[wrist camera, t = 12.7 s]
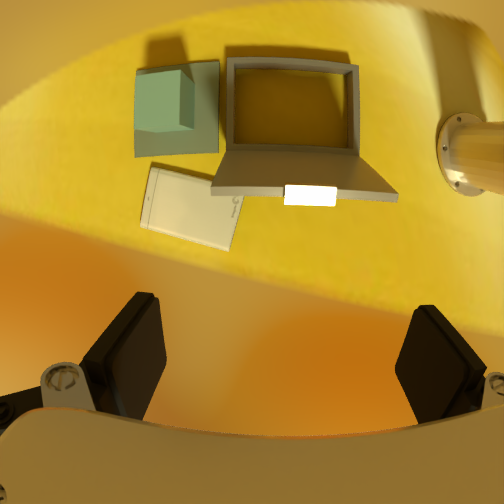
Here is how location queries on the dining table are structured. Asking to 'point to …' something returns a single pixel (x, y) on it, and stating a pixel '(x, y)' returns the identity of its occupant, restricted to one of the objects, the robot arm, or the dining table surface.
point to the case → (295, 64)
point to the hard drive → (189, 209)
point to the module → (164, 102)
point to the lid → (300, 177)
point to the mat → (204, 116)
